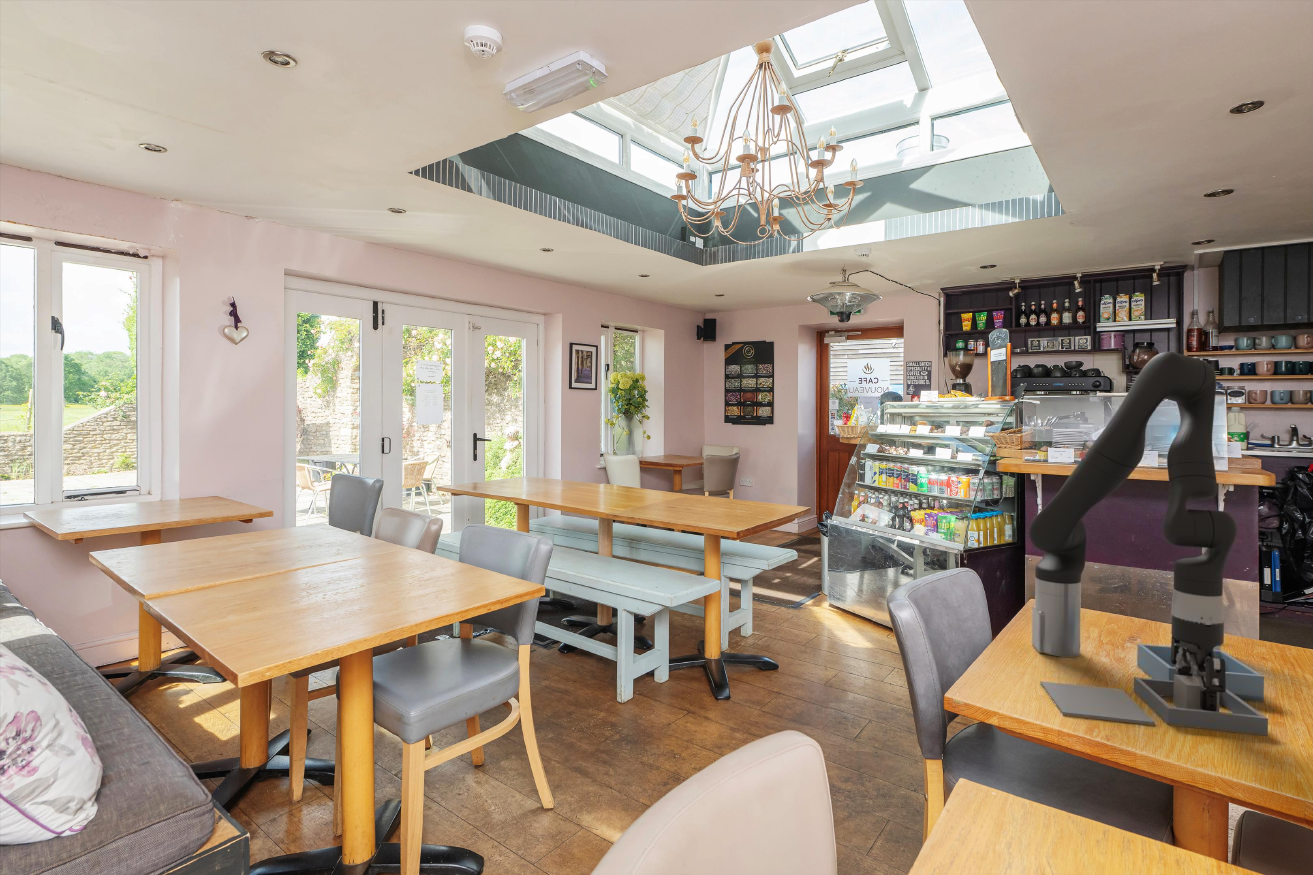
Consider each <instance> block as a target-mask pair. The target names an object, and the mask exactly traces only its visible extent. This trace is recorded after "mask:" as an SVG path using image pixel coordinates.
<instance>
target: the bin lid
mask: <svg viewBox="0 0 1313 875" xmlns="http://www.w3.org/2000/svg"><path fill="white" fill-rule="evenodd" d="M1039 683H1041V684H1040V686H1041V685H1042V686H1043V687H1042V686H1041V687H1042V689H1043V688H1044V689H1045V690H1046V691H1045V690H1044V689H1043V690H1044V691H1045V693H1046V692H1047V693H1048V694H1049V695H1050V697H1051V698H1050V697H1049V698H1050V700H1051V699H1052V700H1053V701H1054V702H1053V701H1052V700H1051V701H1052V702H1053V704H1054V703H1055V704H1056V705H1055V704H1054V705H1055V707H1056V706H1057V707H1058V708H1059V709H1058V708H1057V707H1056V708H1057V709H1058V711H1059V710H1060V711H1059V712H1060V713H1062V714H1063V715H1062V714H1061V715H1062V716H1065V715H1070V716H1069V717H1074V716H1076V717H1075V718H1083V717H1085V719H1094V720H1101V719H1102V720H1104V721H1109V722H1110V721H1113V722H1120V723H1129V724H1139V725H1145V726H1146V725H1147V726H1156V722H1155V721H1154V719H1152V717H1150V716H1149V715H1148V714H1147V712H1145V711H1144V710H1143V709H1142V707H1140V705H1138V704H1137V702H1135V701H1134V699H1132V698H1131V697H1130V695H1128V694H1127V693H1126V692H1125V691H1124V690H1123V689H1121V688H1112V687H1102V686H1093V685H1092V686H1091V685H1081V684H1080V685H1079V684H1070V683H1062V682H1061V683H1059V682H1051V681H1039ZM1047 693H1046V694H1047ZM1048 694H1047V695H1048ZM1102 720H1101V721H1102Z"/></svg>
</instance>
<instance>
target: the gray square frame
mask: <svg viewBox="0 0 1313 875" xmlns="http://www.w3.org/2000/svg"><path fill="white" fill-rule="evenodd" d="M1133 692H1134V694H1136V696H1138V698H1139V699H1141V700H1142V701H1143V703H1145V704H1146V705H1147V706H1148V707H1149V708H1150V710H1152V711H1153V712H1155V714H1156V715H1157V716H1158V717H1159V718H1161V720H1163V722H1165V723H1166V724H1167V725H1169V726H1176V727H1177V726H1178V727H1185V728H1186V727H1187V728H1196V729H1204V730H1205V729H1206V730H1214V731H1222V732H1223V731H1224V732H1230V733H1241V734H1247V735H1248V734H1249V735H1256V736H1257V735H1259V736H1265V737H1267V736H1268V735H1269V718H1268V717H1267V716H1265V715H1263V714H1262V713H1261V712H1259V711H1258V710H1257V709H1255V707H1252V706H1251V705H1250V704H1248V703H1247V702H1246V701H1245V700H1241V699H1240V698H1238V697H1237V696H1236V695H1234V694H1233V693H1231V692H1230V691H1229V690H1227V689H1226V692H1225V693H1222V692H1219V704H1221V705H1222V706H1224V707H1225V708H1226V709H1227V710H1229V711H1230V712H1224V711H1223V712H1222V711H1219V712H1215V711H1206V710H1196V709H1186V708H1177V707H1175V706H1171V705H1170V704H1169V703H1168V702H1166V701H1165V700H1164V699H1163V698H1162V697H1171V698H1173V695H1174V681H1171V680H1160V679H1152V678H1151V677H1150V678H1149V677H1147V678H1146V677H1138V676H1136V677H1135V676H1134V677H1133Z"/></svg>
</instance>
